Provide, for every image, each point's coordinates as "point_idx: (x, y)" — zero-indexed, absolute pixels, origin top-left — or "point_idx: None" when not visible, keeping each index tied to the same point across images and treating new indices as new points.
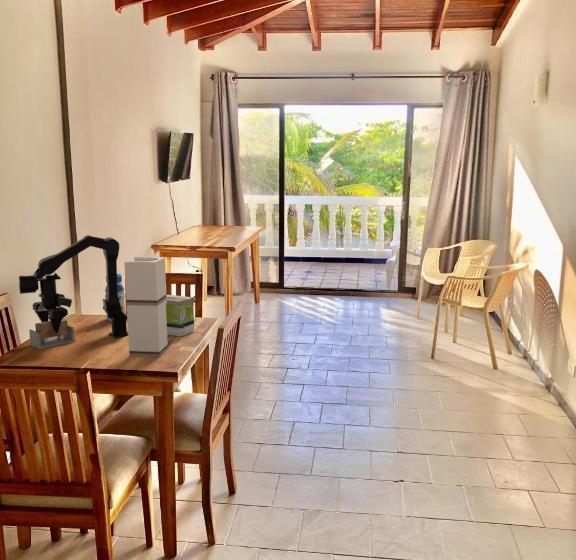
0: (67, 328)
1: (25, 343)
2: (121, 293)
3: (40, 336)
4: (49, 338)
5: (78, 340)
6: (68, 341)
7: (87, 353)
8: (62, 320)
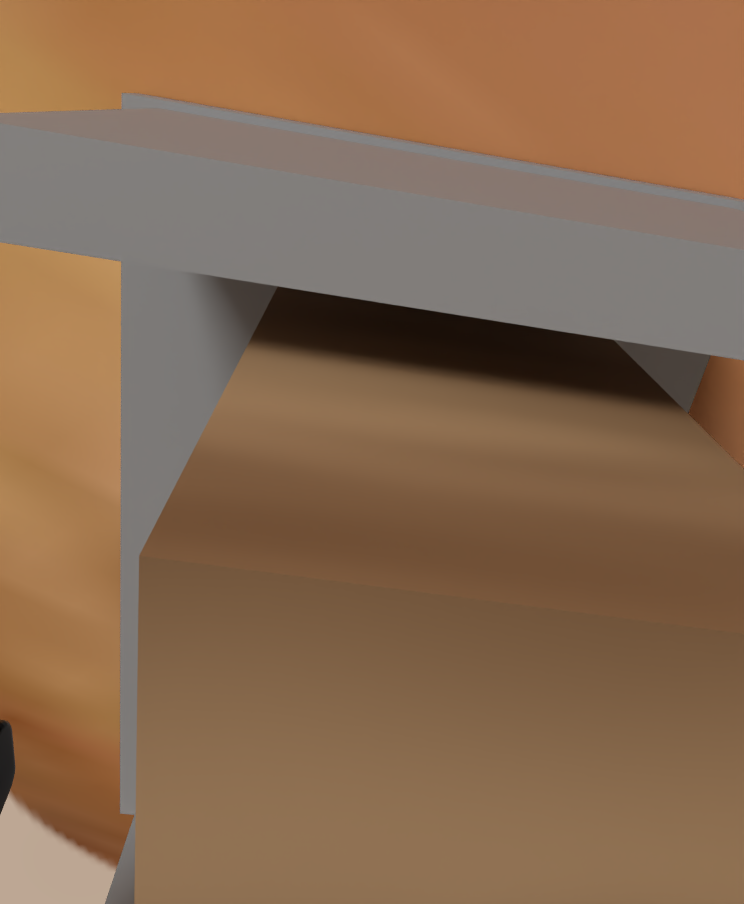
0: (681, 419)
1: (18, 784)
2: None
3: None
4: (129, 511)
5: (732, 66)
6: (693, 388)
7: None
8: (637, 813)
